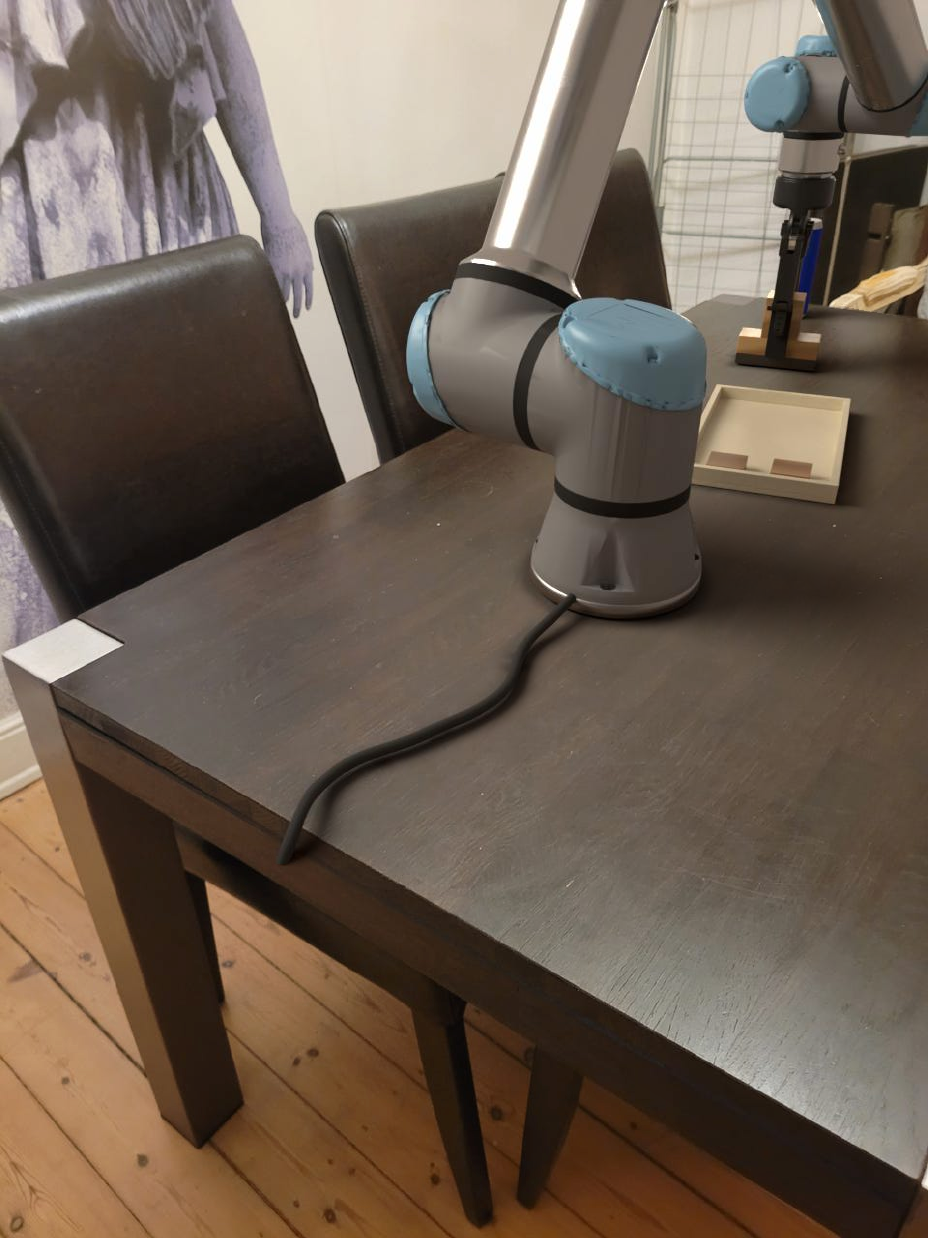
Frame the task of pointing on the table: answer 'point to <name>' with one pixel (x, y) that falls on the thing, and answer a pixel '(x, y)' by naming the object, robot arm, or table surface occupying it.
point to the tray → (773, 441)
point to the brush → (799, 344)
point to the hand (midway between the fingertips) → (776, 351)
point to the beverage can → (810, 262)
